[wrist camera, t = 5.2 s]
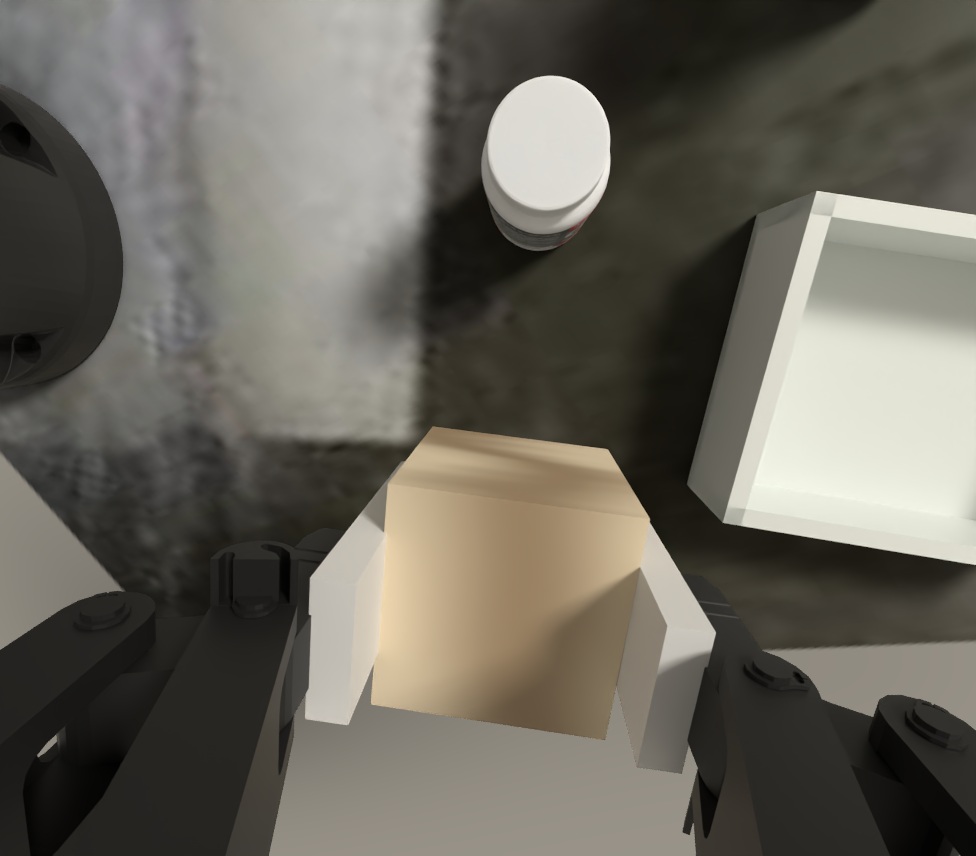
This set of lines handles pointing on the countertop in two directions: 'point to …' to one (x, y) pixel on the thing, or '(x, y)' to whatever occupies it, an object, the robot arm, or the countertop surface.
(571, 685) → the cube
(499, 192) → the pill bottle
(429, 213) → the countertop surface
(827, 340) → the tote
